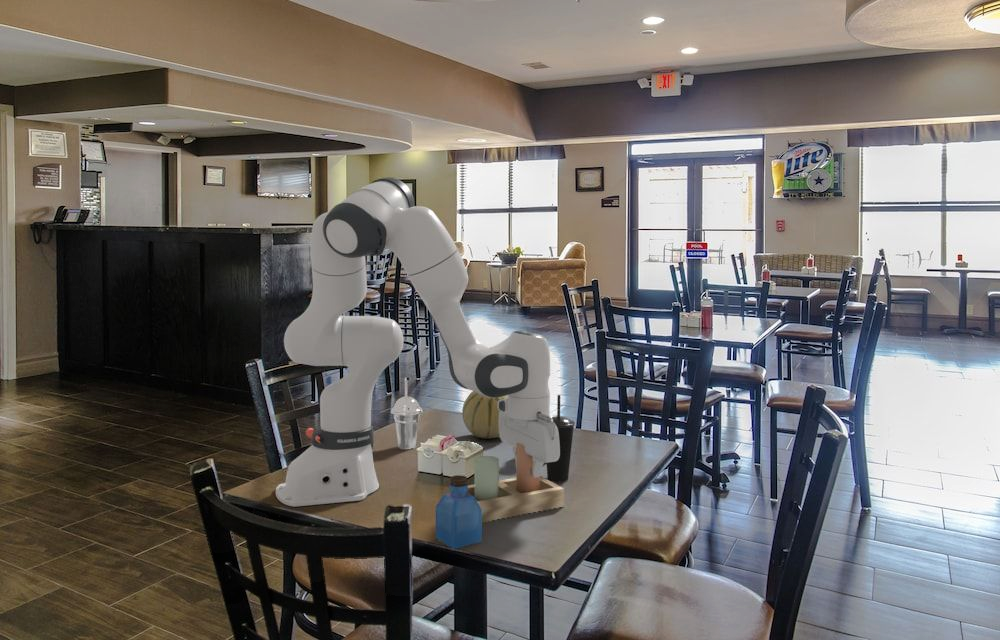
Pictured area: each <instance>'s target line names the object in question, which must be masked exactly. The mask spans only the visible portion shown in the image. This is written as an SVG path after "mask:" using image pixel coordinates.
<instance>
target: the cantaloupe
mask: <svg viewBox="0 0 1000 640" xmlns="http://www.w3.org/2000/svg"><path fill="white" fill-rule="evenodd" d="M506 398H508V395H506V396H502V397H487V396H484V395H482V394H479V393H477V392H475V391H472V390H471V392H470V393H469V395H467V397H466V399H465V401H464V403H463V406H462V409H461V410H462V421H463V423H464V425H465V427H466V429H467V430H468V432H469V433H471V434H472V435H473V436H474V437H478V438H480V439H487V440H490V439H496V438H499V437H500V435H499V412H500V410H498V407H497V403H498V401H499V400H502V399H506Z"/></svg>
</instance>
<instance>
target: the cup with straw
mask: <svg viewBox="0 0 1000 640" xmlns="http://www.w3.org/2000/svg"><path fill="white" fill-rule="evenodd" d="M408 381H410V378H409V377H404V396H402V397H399V398H398V399H397V400H396V402H395V403H394V405H393V407H392V408H391V410H390V413H391V414H392V415H393V419H394V422H395V429H396V436H397V437H396V439H397V444H398V448H399V449H400V450H412V449H411V448H413V449H415V448H416V446H417V445H416V443H417V437H418V435H417V434H418V427H419V426H418V425H419V421H420V416H421V414H422V413H423V411H424V410H423V408H422V407H421V406H420V404H419V402H418V400H416V398H414V397H411V396H408Z"/></svg>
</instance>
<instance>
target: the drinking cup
mask: <svg viewBox="0 0 1000 640" xmlns="http://www.w3.org/2000/svg"><path fill="white" fill-rule="evenodd" d="M556 404H557V406H556V407H557V408H556V409H557V411H556V413H557V416H551V417H552V420H553V422H554V423H555V425H556V426H557V428H558V433H559V443H560V457H559V459H558V461H555V462H548V463H546V474H547V480H548V479H549V481H550V480H551V482H554V481H555V482H554V483H562V482H567V481H568V479H569V474H570V473H569V472H570V465H571V456H572V455H571V454H572V446H573V438H574V437H573V436H574V435H573V434H574V426H576V421H574V420H572V419H571V418H568V417H566V416H561V394H557V403H556Z"/></svg>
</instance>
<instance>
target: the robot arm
mask: <svg viewBox="0 0 1000 640" xmlns="http://www.w3.org/2000/svg"><path fill="white" fill-rule="evenodd" d="M454 241H455V240H454V239H453V238H452V236H451V234H450V233H449V231H448V230H447V228H446V226H445V225H444V224H443V222H442V221H441V220H440V219H439V217H438V216H437V215H436V213H435V212H434V211H433V210H431V209H430V208H429V207H427V206H422V205H421V206H420V205H417V206H416V205H415V198H414V195H413V193H412V190H411V189H410V188H409V186H408V185H406V183H404V182H403V181H402V180H400V179H398V178H395V177H383V178H378V179H375V180H373V181H371V182H370V183H369V184H367V185H364V186H362V187H360V188H359V189H357V190H355V191H354V192H352V193H351V194H350V195H349V196H348V197H346V198H345V199H344V200H342V201H341V202H340V203H338V204H336V205H334V207H332V208H331V209H330V210H329V211H326V212H324V213H322V214H320V215H319V216H317V217H316V219H315V220H314V222H313V224H312V229H311V239H310V265H311V273H312V274H311V276H312V294H311V295H312V296H311V300H310V303H309V305H308V306H307V308H306V310H304V312H303V313H302V314H301V315H300V316H298V317H297V318H295V319H294V320H292V321H291V322H290V323H289V325H288V326H287V328H286V329H285V332H284V337H283V346H284V350H285V352H286V354H287V355H288V357H289V359H290V360H291V361H293V363H297V364H302V365H308V366H313V367H328V366H329V367H330V366H331V367H334V366H335V367H339V366H343V367H347V369H348V370H347V371H348V372H347V374H346V375H345V376H344V377H342V378H340V379H337V380H336V381H334V382H332V383H330V384H328V385H327V386H326V387H324V389H323V390H322V392H321V394H320V397H319V408H320V411H319V412H320V413H319V414H320V415H319V418H320V426H319V427H318V428H317V429H316V430H315V429H314V427H313V428H312V427H308V428H307V429H306V430H305V435H306V436H307V437H308V438H309V439H311V445H310V446H309V447H308V448H307V449H306V450H305V451H303V452H302V453H300V455H299V456H297V457H296V458H295V459H293V461H291V462H290V463H289V465H288V467H287V471H286V477H285V482H284V483H283V482H282V483H280V484H278V486H276V488H275V497H276V498H277V500H278V501H279V502H280V503H282V504H284V505H285V506H289V507H295V508H296V507H305V506H315V505H316V506H317V505H326V504H335V503H336V504H337V503H346V502H348V503H349V502H356V501H357V502H358V501H362V500H365V498H367V496H368V495H370V494H372V493H374V492H376V491H377V490H378V489H379V487H380V483H379V480H378V476H377V472H376V468H375V464H374V457H373V449H374V442H375V441H374V438H375V437H374V436H375V435H374V426H373V425H372V399H373V393H374V388H375V386H376V383H377V380H378V379H379V377H380V376H381V374H382V373H383V372H384V371H385V370H386V369H387V367H388V366H389V365H391V364H392V363H394V362H395V361H396V360H397V359H398V358H399V356H400V355H401V353H402V351H403V349H404V348H403V347H404V340H405V339H404V335H403V334H404V333H403V331H402V329H401V327H400V325H399V323H397V322H396V321H395V320H394V319H391V318H388V317H382V316H377V315H376V316H375V315H344V314H345V313H348V312H349V311H351V310H353V309H355V308H357V307H358V306H359V305H360V304H361V303H362V302H363V301H364V300H365V299H366V295H367V293H368V283H367V265H366V257H367V256H368V257H369V256H371V257H376V256H381V255H382V253H384V251H385V249H386V250H389V251H391V252H392V253H393V254H395V256H396V257H397V258H398V261H399V262H400V264H401V266H402V268H403V270H404V272H405V273H406V275H407V277H408V279H409V281H410V283H411V284H412V286H413V288H414V290H415V291H416V293H417V294H418V296H419V297H420V298H421V300H422V301H423V303H424V305H425V307H426V308H427V309H428V311H429V313H430V317H431V318H432V320H433V323H434V325H435V326H436V329H437V331H438V334H439V335H440V337H441V340H442V342H443V343H444V346H445V349H446V352H447V356H448V366H449V373H450V376H451V378H452V380H453V381H454V382H455V384H457V385H458V387H460V388H462V389H465V390H468V391H469V390H470V391H471V392H472V391H475V392H477V393H479V394H482V395H484V396H487V397H502V396H506V395H508V398H506V399H502V400H499V401H498V403H497V407H498V410H500V412H499V435H500V436H499V437H500V441H501V442H503V443H505V444H507V445H510V446H511V447H512V453H513V457H514V459H515V468H516V467H517V443H519V444H521V445H523V446H525V453H526V454H528V455H530V456H532V457H533V461H534V464H533V467H531V468H530V471H531V472H530V474H531V475H532V476H533V477H540V476H542V468H543V466H544V464H545V463H548V462H555V461H558V459H559V457H560V443H559V433H558V428H557V426H556V425H555V423H554V422H553V420H552V417H553V416H550V413H551V411H550V410H551V409H550V406H551V405H550V403H551V401H550V400H551V391H550V389H549V388H550V387H549V379H550V376H551V356H550V354H551V353H550V346H549V343H548V340H547V338H546V337H545V336H544V335H542V334H540V333H539V334H538V333H534V332H530V331H523V330H514V331H512V333H511V334H510V335H509V336H508V337H506V338H505V339H504V340H503V341H501V342H500V343H497V344H496V345H494V346H490V347H487V346H486V345H484V344H482V343H481V342H480V341H479V340H477V338H476V337H475V336H474V333H473V332H472V329H471V327H470V325H469V323H468V320H467V319H466V315H465V314H464V312H463V310H462V307H461V301H460V300H461V297H462V296H463V294H464V293H465V291H466V289H467V287H468V283H469V274H468V270H467V268H466V264H465V262H464V259H463V257H462V255H461V253H460V251H459V249H458V247H457V245H456V243H455V242H454Z"/></svg>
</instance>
